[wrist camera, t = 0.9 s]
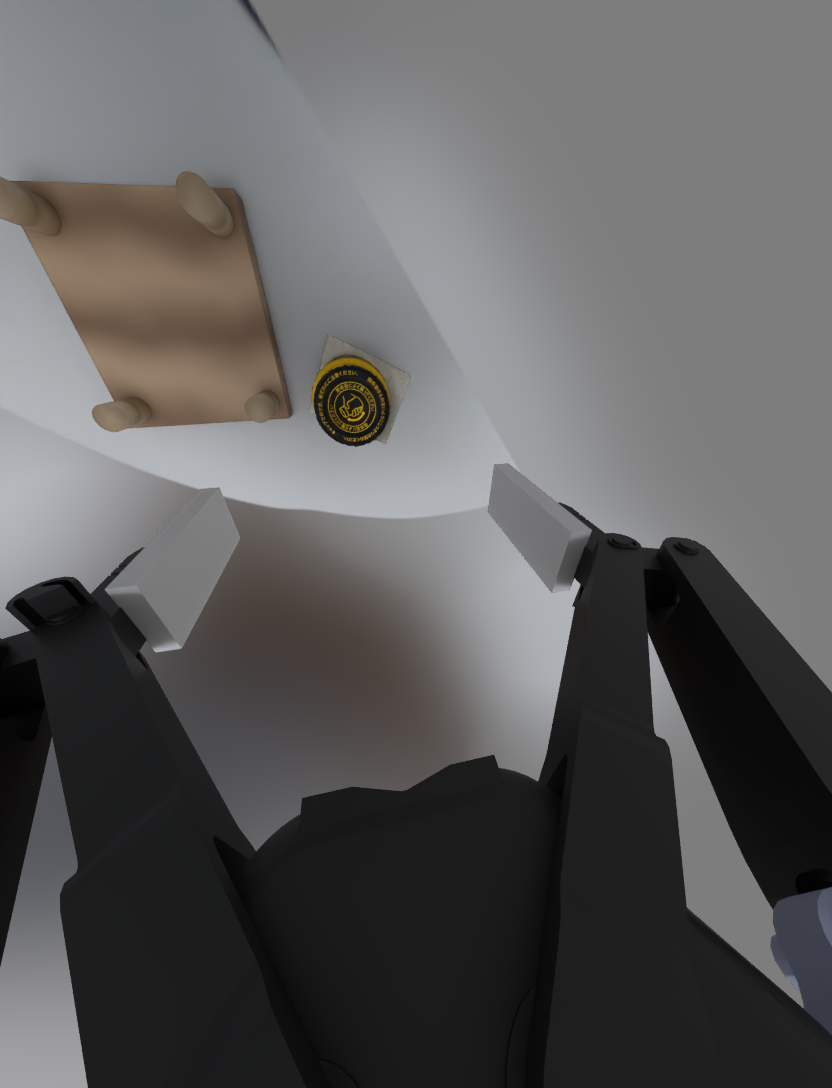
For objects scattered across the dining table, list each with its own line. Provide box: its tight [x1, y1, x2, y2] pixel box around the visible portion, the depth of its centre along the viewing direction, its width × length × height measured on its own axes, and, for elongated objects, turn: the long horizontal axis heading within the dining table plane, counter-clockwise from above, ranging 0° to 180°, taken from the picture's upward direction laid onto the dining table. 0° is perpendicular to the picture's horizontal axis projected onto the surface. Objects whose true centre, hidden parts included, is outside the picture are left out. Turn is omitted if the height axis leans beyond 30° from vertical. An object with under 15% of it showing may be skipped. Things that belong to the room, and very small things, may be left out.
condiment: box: [309, 335, 411, 447], centre depth 26 cm, size 7×8×12 cm
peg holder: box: [0, 172, 292, 432], centre depth 23 cm, size 15×14×6 cm
